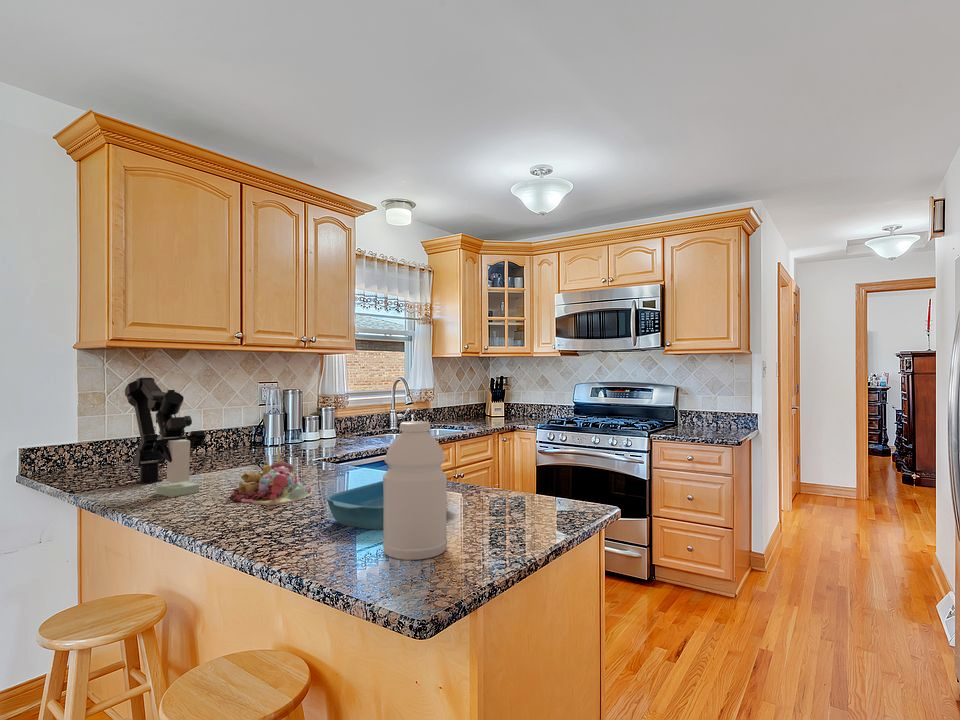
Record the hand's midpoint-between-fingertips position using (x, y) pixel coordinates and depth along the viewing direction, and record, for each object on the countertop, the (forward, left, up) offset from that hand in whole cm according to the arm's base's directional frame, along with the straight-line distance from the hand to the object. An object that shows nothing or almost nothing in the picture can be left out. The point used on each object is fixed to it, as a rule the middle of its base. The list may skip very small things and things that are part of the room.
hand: (180, 460), depth 176 cm
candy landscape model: (+28, +16, -11) cm, 34 cm away
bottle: (+101, -1, -11) cm, 101 cm away
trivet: (-1, 0, -11) cm, 11 cm away
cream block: (-1, 0, -7) cm, 7 cm away
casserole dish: (+75, +18, -11) cm, 78 cm away
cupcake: (+11, +30, -11) cm, 34 cm away
